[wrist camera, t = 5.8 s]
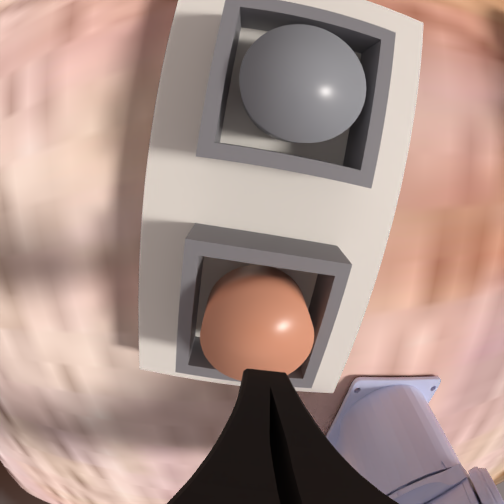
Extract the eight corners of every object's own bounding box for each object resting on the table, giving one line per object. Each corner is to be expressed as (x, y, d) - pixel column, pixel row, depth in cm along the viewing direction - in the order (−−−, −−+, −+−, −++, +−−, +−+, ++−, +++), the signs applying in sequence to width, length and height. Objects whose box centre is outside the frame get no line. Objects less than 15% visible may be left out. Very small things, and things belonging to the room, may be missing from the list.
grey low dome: (337, 152, 13) (355, 155, 11) (232, 132, 13) (229, 130, 11) (353, 57, 12) (373, 42, 9) (250, 34, 11) (250, 14, 9)
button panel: (327, 373, 20) (341, 421, 16) (147, 350, 20) (128, 396, 15) (407, 32, 13) (448, 9, 9) (193, -14, 12) (177, -54, 8)
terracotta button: (292, 354, 16) (298, 386, 14) (202, 342, 16) (195, 374, 13) (314, 272, 14) (327, 298, 12) (212, 257, 14) (206, 281, 12)
